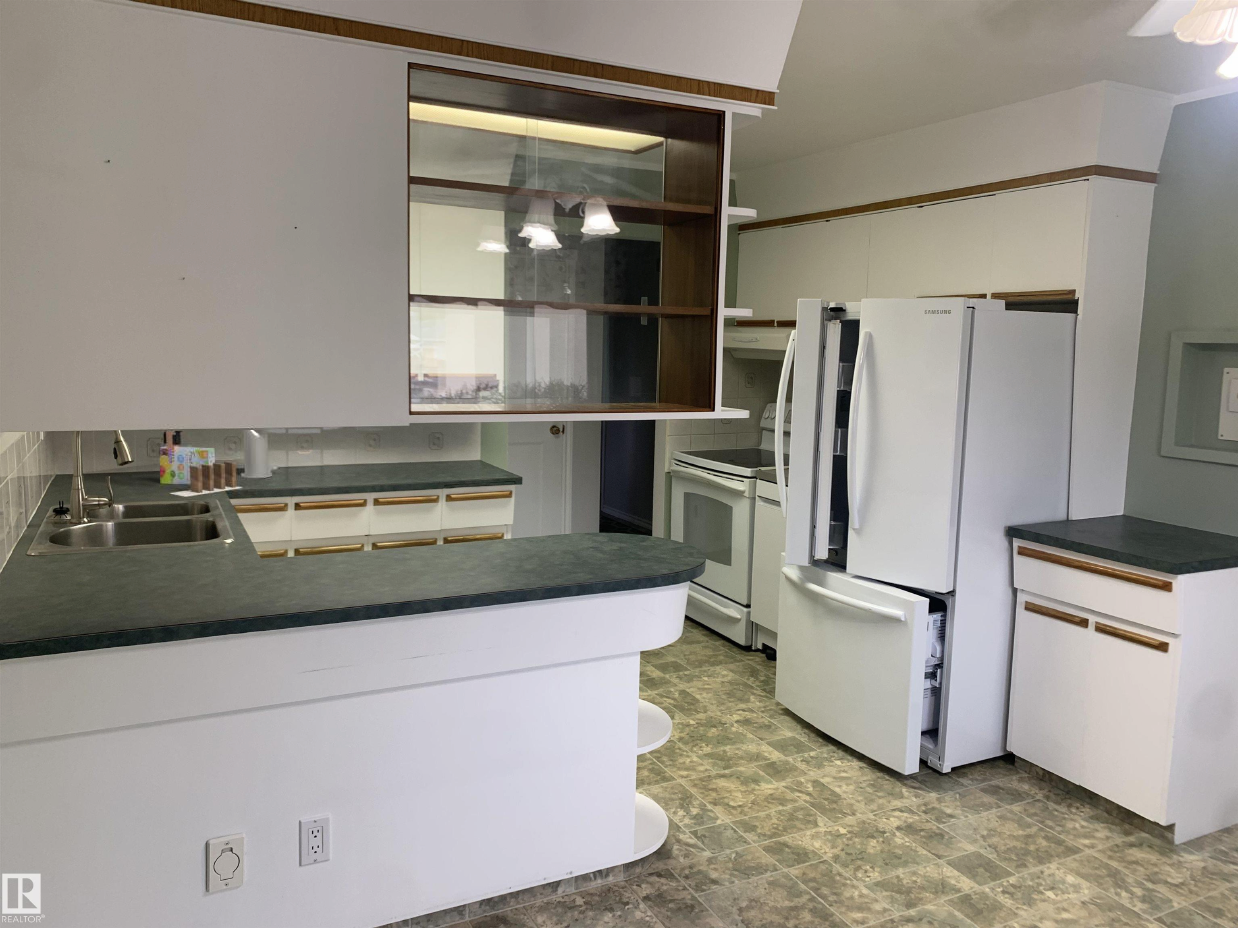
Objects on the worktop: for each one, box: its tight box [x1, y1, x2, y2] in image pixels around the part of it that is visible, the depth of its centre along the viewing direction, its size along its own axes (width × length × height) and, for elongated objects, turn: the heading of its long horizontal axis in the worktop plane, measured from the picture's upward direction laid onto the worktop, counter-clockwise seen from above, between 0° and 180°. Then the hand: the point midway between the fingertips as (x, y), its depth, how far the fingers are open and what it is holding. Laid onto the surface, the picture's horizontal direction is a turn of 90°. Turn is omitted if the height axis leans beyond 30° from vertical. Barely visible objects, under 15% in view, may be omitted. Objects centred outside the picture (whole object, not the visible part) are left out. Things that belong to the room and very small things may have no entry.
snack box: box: [159, 445, 216, 485], centre depth 360 cm, size 21×6×15 cm, turn 84°
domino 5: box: [223, 461, 237, 488], centre depth 355 cm, size 2×5×10 cm, turn 60°
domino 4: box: [213, 462, 225, 489], centre depth 351 cm, size 2×5×10 cm, turn 60°
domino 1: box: [166, 431, 179, 451], centre depth 345 cm, size 2×5×10 cm, turn 59°
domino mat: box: [169, 485, 243, 498], centre depth 347 cm, size 25×10×1 cm, turn 150°
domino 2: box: [189, 466, 203, 493], centre depth 342 cm, size 2×5×10 cm, turn 60°
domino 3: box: [201, 464, 214, 491], centre depth 347 cm, size 2×5×10 cm, turn 60°
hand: (172, 443), depth 345 cm, fingers closed on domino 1, 4 cm apart
